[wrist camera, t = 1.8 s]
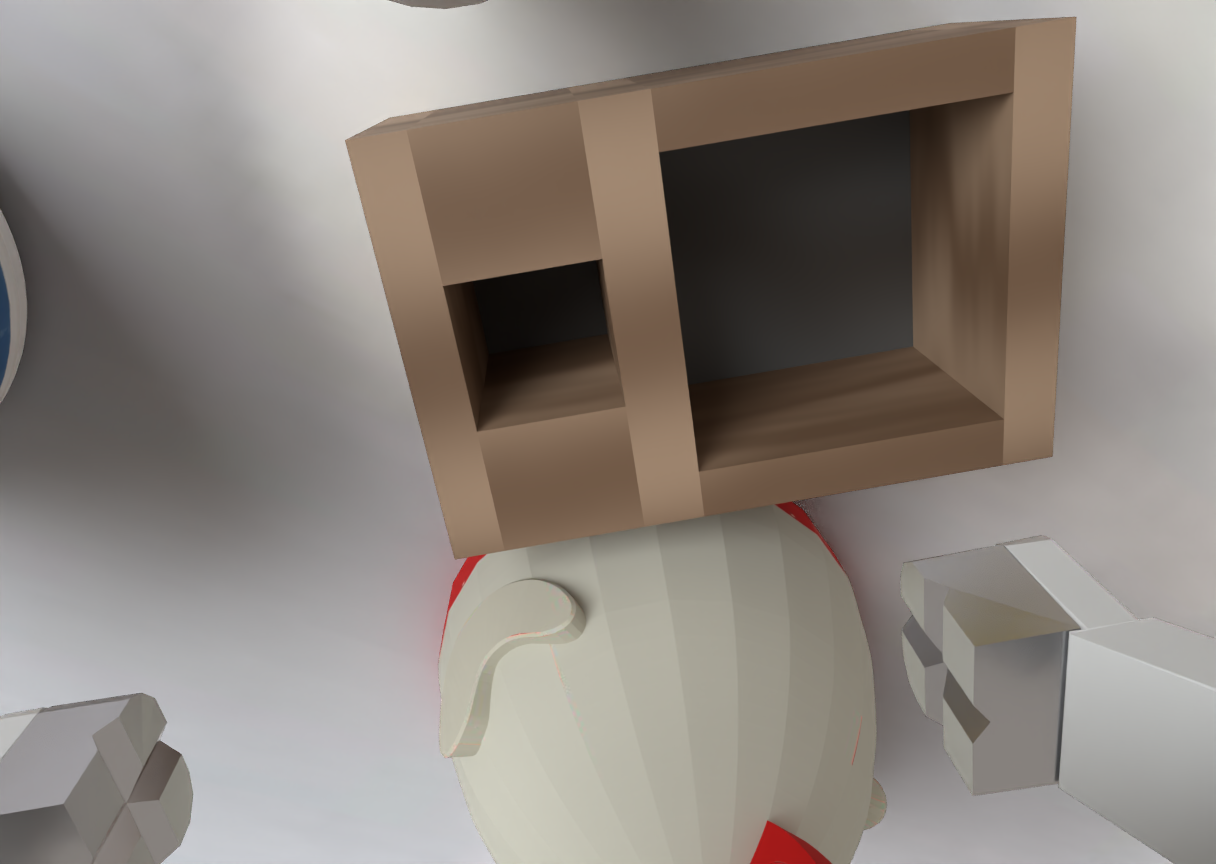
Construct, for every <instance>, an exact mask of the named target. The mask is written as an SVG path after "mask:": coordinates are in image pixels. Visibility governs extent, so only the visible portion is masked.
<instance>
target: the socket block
mask: <svg viewBox="0 0 1216 864" xmlns="http://www.w3.org/2000/svg"><path fill="white" fill-rule="evenodd" d="M1075 32H1076V17H1062V18H1042V19H1023V20H1003V21H983V22H963V23H949V24H943V25H937V26H931V27H925V28H919V29H913V30H907V31H901V32H895V33H889V34H883V35H877V36H872V37H866V38H860V39H854V40H848V41H842V42H836V43H830V44H824V45H818V46H812V47H806V48H800V49H794V50H789V51H783V52H777V53H771V54H765V55H759V56H753V57H747V58H741V59H735V60H729V61H723V62H717V63H712V64H706V65H700V66H694V67H688V68H682V69H676V70H670V71H664V72H658V73H652V74H646V75H640V76H635V77H629V78H623V79H617V80H611V81H605V82H599V83H593V84H587V85H581V86H575V87H569V88H563V89H558V90H552V91H546V92H540V93H534V94H528V95H522V96H516V97H510V98H504V99H498V100H492V101H486V102H481V103H475V104H469V105H463V106H457V107H451V108H445V109H439V110H433V111H427V112H421V113H415V114H409V115H404V116H398V117H392V118H388V119H386V120H384V121H382V122H380V123H378V124H376V125H374V126H372V127H370V128H369V129H367V130H365V131H363V132H361V133H359V134H357V135H355V136H353V137H351V138H349V139H347V140H345V142H346V145H347V149H348V153H349V157H350V161H351V165H352V168H353V172H354V176H355V180H356V184H357V188H358V191H359V195H360V199H361V203H362V207H363V210H364V214H365V218H366V222H367V226H368V230H369V233H370V237H371V241H372V245H373V249H374V252H375V256H376V260H377V264H378V268H379V272H380V275H381V279H382V283H383V287H384V291H385V295H386V298H387V302H388V306H389V310H390V314H391V317H392V321H393V325H394V329H395V333H396V337H397V340H398V344H399V348H400V352H401V356H402V359H403V363H404V367H405V371H406V375H407V379H408V382H409V386H410V390H411V394H412V398H413V402H414V405H415V409H416V413H417V417H418V421H419V424H420V428H421V432H422V436H423V440H424V444H425V447H426V451H427V455H428V459H429V463H430V466H431V470H432V474H433V478H434V482H435V486H436V489H437V493H438V497H439V501H440V505H441V509H442V512H443V516H444V520H445V524H446V528H447V531H448V535H449V539H450V543H451V547H452V551H453V554H454V558H455V559H461V558H467V557H472V556H478V555H484V554H490V553H496V552H501V551H507V550H513V549H519V548H525V547H531V546H536V545H542V544H548V543H554V542H560V541H565V540H571V539H577V538H583V537H589V536H594V535H600V534H606V533H612V532H618V531H624V530H629V529H635V528H641V527H647V526H653V525H658V524H664V523H670V522H676V521H682V520H687V519H693V518H699V517H705V516H711V515H717V514H722V513H728V512H734V511H740V510H746V509H751V508H757V507H763V506H769V505H775V504H780V503H786V502H792V501H798V500H804V499H810V498H815V497H821V496H827V495H833V494H839V493H844V492H850V491H856V490H862V489H868V488H873V487H879V486H885V485H891V484H897V483H902V482H908V481H914V480H920V479H926V478H932V477H937V476H943V475H949V474H955V473H961V472H966V471H972V470H978V469H984V468H990V467H995V466H1001V465H1007V464H1013V463H1019V462H1025V461H1030V460H1036V459H1042V458H1048V457H1052V456H1053V437H1054V419H1055V400H1056V382H1057V364H1058V345H1059V327H1060V308H1061V290H1062V272H1063V253H1064V235H1065V216H1066V198H1067V180H1068V161H1069V143H1070V124H1071V106H1072V88H1073V69H1074V51H1075Z"/></svg>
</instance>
